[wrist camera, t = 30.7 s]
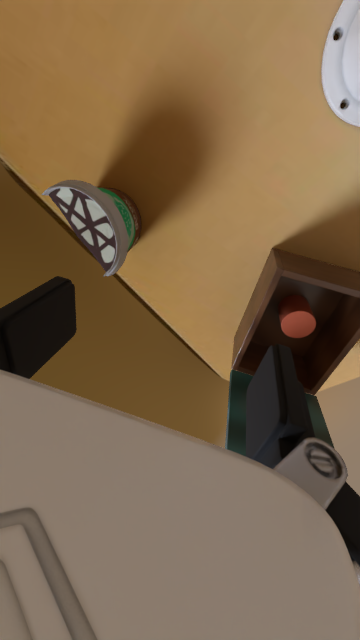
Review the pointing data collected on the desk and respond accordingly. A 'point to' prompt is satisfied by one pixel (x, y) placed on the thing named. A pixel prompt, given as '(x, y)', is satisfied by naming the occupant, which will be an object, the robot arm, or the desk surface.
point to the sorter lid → (238, 414)
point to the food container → (99, 219)
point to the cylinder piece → (296, 316)
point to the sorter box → (328, 309)
